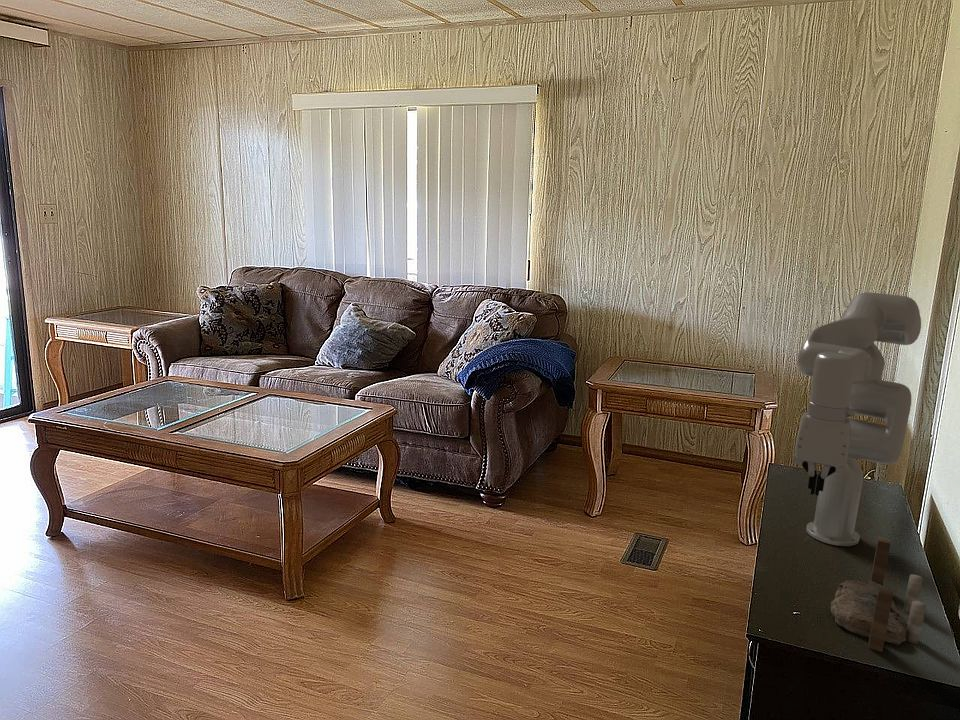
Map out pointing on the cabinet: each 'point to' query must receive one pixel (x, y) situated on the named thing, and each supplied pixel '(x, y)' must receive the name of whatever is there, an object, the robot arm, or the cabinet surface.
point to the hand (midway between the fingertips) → (814, 492)
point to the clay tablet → (864, 610)
